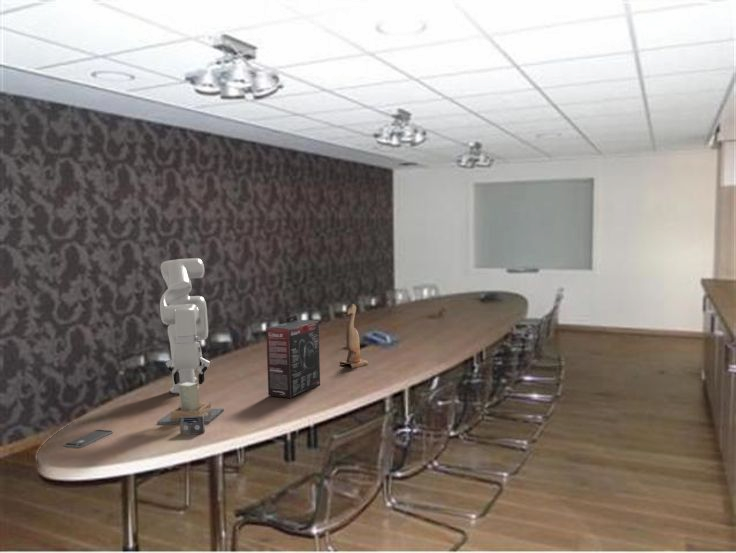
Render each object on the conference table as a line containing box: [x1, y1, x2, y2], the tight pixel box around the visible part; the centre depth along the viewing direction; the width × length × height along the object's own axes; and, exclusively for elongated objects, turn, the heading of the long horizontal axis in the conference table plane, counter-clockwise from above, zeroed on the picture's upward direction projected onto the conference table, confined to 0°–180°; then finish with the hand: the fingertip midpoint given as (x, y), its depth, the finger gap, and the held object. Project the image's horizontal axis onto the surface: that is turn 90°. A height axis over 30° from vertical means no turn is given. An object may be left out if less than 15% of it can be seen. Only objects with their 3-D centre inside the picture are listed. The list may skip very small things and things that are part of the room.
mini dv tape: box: [179, 416, 206, 435], centre depth 216 cm, size 8×2×6 cm, turn 88°
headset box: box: [265, 315, 321, 399], centre depth 267 cm, size 24×13×33 cm, turn 154°
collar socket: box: [156, 402, 225, 425], centre depth 235 cm, size 16×20×4 cm
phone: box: [64, 429, 114, 449], centre depth 214 cm, size 8×1×16 cm
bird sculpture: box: [339, 303, 369, 369], centre depth 313 cm, size 11×12×32 cm
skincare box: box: [179, 382, 200, 411], centre depth 234 cm, size 6×4×12 cm
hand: (189, 383), depth 234 cm, fingers open, 9 cm apart
